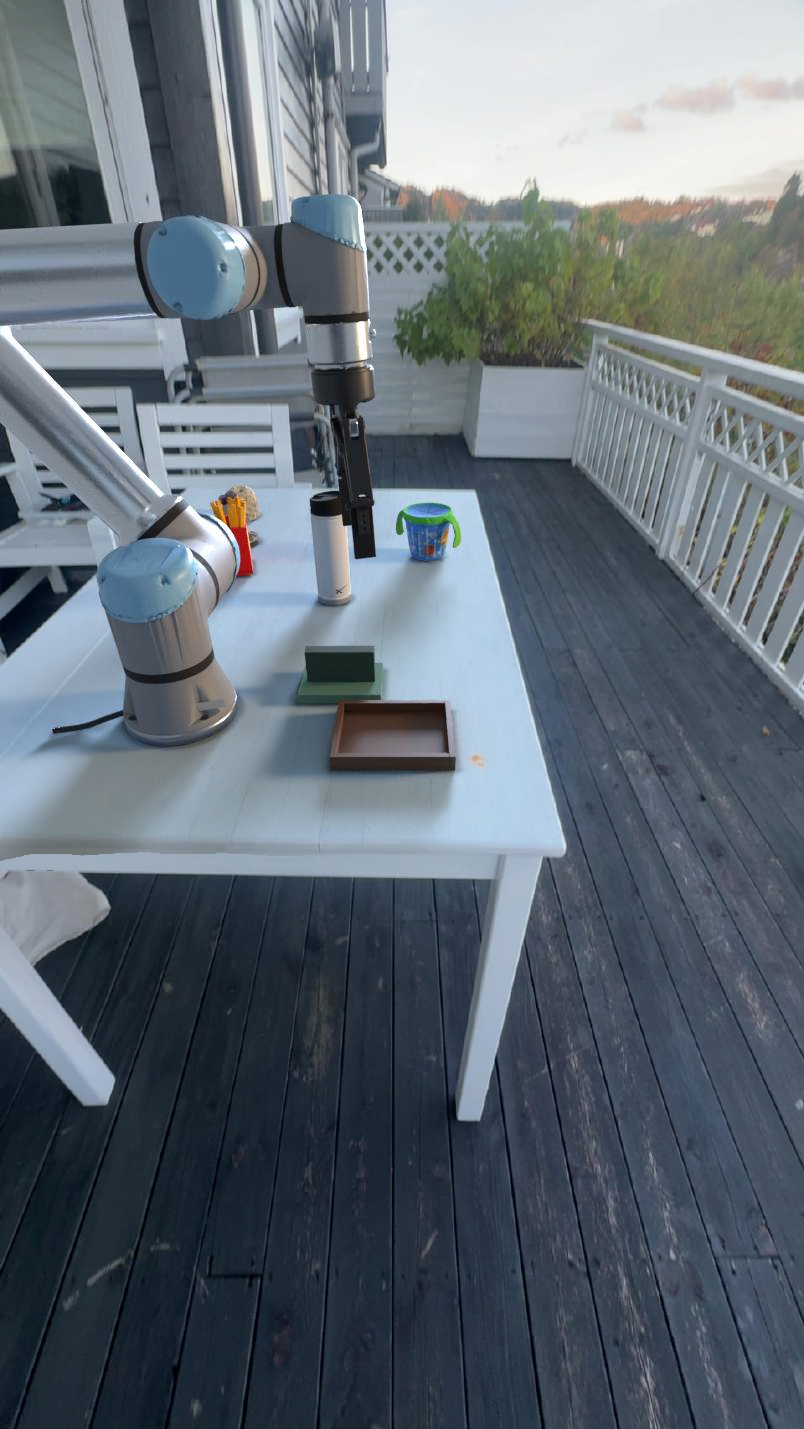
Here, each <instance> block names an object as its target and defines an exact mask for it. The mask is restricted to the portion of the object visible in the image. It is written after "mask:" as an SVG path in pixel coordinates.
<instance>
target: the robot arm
mask: <svg viewBox="0 0 804 1429" xmlns="http://www.w3.org/2000/svg"><path fill="white" fill-rule="evenodd" d="M290 211H291V214H290V217H289V219H290V220H289V221H288V222H287V221H286V222H283V223H278V224H273V225H271V224H269V225H248V226H246V225H245V226H238V225H233V224H228V223H223V222H218V221H214V220H213V219H209V218H208V217H205V216H203V215H197V214H196V215H191V214H184V215H183V214H182V215H177V216H174V217H171V218H169V219H166V220H154V221H148V222H142V221H132V222H130V221H129V222H114V223H113V222H112V223H98V224H97V223H95V224H80V225H79V224H78V225H77V224H76V225H63V226H44V227H25V228H8V229H7V228H6V229H0V424H1V425H2V426H3V427H4V428H6V430H7V431H8V432H9V433H10V434H12V435H13V436H14V438H16V439H17V440H18V441H19V443H21V444H22V445H23V446H24V447H25V448H26V449H27V450H28V451H29V452H30V453H31V454H32V455H33V456H34V457H35V458H37V460H39V461H40V463H41V464H43V466H44V467H46V468H47V469H48V470H49V471H50V472H51V473H52V474H53V475H54V476H55V477H56V478H57V479H58V480H59V481H60V482H62V484H64V486H65V487H66V488H68V489H69V490H70V491H71V493H73V494H74V495H75V496H76V497H77V498H78V499H79V500H80V501H81V502H82V503H83V504H84V505H85V506H86V507H87V508H88V509H89V510H90V511H92V513H93V514H95V516H97V517H98V518H99V519H100V521H101V522H103V523H104V524H105V525H106V526H107V527H108V528H109V529H110V530H111V531H112V532H113V533H114V534H115V535H116V536H117V538H118V542H119V543H118V544H119V546H118V547H116V548H114V549H112V550H111V551H109V553H107V554H106V555H105V556H104V557H103V558H102V560H101V561H100V562H99V564H98V566H97V569H96V576H95V577H96V583H97V587H98V596H99V600H100V603H101V606H102V607H103V609H104V613H105V616H106V620H107V622H108V625H109V628H110V632H111V635H112V637H113V640H114V644H115V647H116V650H117V653H118V656H119V660H120V663H121V666H122V669H123V671H124V672H123V673H124V676H125V681H124V694H123V704H122V705H123V707H122V709H121V710H118V711H115V712H112V713H109V714H106V715H103V716H101V717H98V718H96V719H93V720H90V721H88V722H87V721H86V722H82V723H78V724H71V725H64V726H56V727H54V728H55V729H51V732H52V734H53V735H55V734H62V733H64V734H65V733H71V732H72V733H73V732H77V731H84V730H88V729H90V728H95V727H97V726H99V725H101V724H105V723H107V722H109V721H113V720H115V719H119V718H121V717H123V721H124V724H125V727H126V730H127V732H128V734H130V736H131V737H133V738H134V739H136V740H137V741H140V742H142V743H145V744H148V745H153V746H161V747H162V746H163V747H166V746H167V747H168V746H169V747H171V746H179V745H180V746H181V745H186V744H190V743H195V742H197V741H201V740H203V739H206V738H208V737H211V736H213V735H215V734H217V733H218V732H220V731H222V730H223V729H224V728H225V727H227V726H228V725H229V724H230V723H231V722H232V721H233V719H234V718H235V717H236V714H237V712H238V709H239V702H238V701H239V700H238V697H237V692H236V689H235V688H234V686H233V684H232V682H231V681H230V679H229V677H228V676H227V675H226V673H225V671H224V670H223V668H222V667H221V665H220V663H219V662H218V660H217V658H216V656H215V652H214V647H213V646H214V645H213V641H212V637H211V631H210V627H209V617H210V616H211V615H212V613H213V612H214V610H215V609H216V607H217V606H218V605H219V603H220V601H221V600H222V599H223V597H224V595H226V594H227V593H228V592H229V591H230V590H231V588H232V587H233V585H234V584H235V581H236V579H237V577H236V575H237V573H238V570H239V566H240V551H239V547H238V544H237V541H236V539H235V537H234V535H233V534H232V532H231V531H230V529H229V528H228V527H227V526H226V525H225V524H224V523H223V522H222V521H220V520H219V519H217V518H216V517H215V515H214V516H213V515H211V514H209V513H204V512H203V513H202V512H199V511H196V510H195V509H194V508H193V506H191V505H190V504H189V503H188V502H187V501H186V499H185V498H183V497H182V496H181V495H172V494H166V493H164V492H163V491H162V490H161V489H160V488H159V487H158V486H157V485H156V484H155V483H154V482H153V481H152V480H151V479H150V478H149V477H148V476H147V475H146V474H145V473H144V472H143V471H142V470H141V469H140V467H138V465H136V464H135V463H134V462H133V460H131V458H130V457H129V456H128V455H127V454H126V453H125V452H124V450H122V449H121V448H120V447H119V446H118V445H117V443H116V442H114V441H113V439H111V438H110V437H109V436H108V434H106V432H105V431H104V430H103V429H101V427H100V426H99V425H98V424H97V423H96V422H95V421H94V420H93V419H92V418H91V416H89V415H88V414H87V413H86V411H84V410H83V409H82V408H81V407H80V405H79V404H78V403H77V402H76V401H74V399H73V398H72V397H71V396H70V395H69V394H68V393H67V392H66V391H65V390H64V389H63V388H62V387H61V386H60V385H59V384H58V383H57V382H56V381H55V380H54V379H53V378H52V376H51V375H50V374H49V373H48V372H47V371H46V370H45V369H44V368H43V367H42V366H41V365H40V364H39V363H38V362H37V361H36V360H35V359H34V358H33V356H31V355H30V354H29V352H28V351H27V350H26V349H25V348H23V346H22V345H21V344H20V343H19V342H18V341H17V340H16V339H15V338H14V336H13V332H12V327H15V326H17V327H18V326H34V325H35V326H37V325H38V326H39V325H57V324H78V323H79V324H80V323H97V322H98V323H99V322H118V321H120V322H121V321H138V320H139V321H140V320H161V319H171V320H172V319H173V320H174V319H175V320H176V319H193V320H196V321H207V320H217V319H221V318H223V317H225V316H227V315H234V314H238V313H243V312H248V311H249V312H250V311H259V310H270V309H271V310H272V309H282V308H283V309H284V308H288V309H290V308H291V309H292V308H297V307H302V311H303V315H304V316H303V319H304V331H305V332H304V333H305V341H306V349H307V350H306V351H307V357H308V362H309V363H310V364H311V365H314V367H313V368H312V370H311V372H310V376H311V385H312V386H311V387H312V394H313V401H314V403H316V404H318V405H321V406H327V407H328V406H329V407H330V411H331V417H329V424H330V425H329V426H330V430H331V433H332V443H333V448H334V461H335V462H334V468H335V470H336V475H337V477H338V478H337V483H338V491H339V494H340V504H341V513H342V522H343V526H347V527H348V526H349V527H350V526H351V532H352V533H351V534H352V535H351V536H352V544H353V554H354V555H353V556H354V560H362V559H371V558H372V559H373V558H376V557H377V550H376V538H375V526H374V514H373V512H374V511H373V507H374V506H375V502H376V501H375V500H376V499H375V498H374V493H373V492H374V491H373V486H372V478H371V470H370V462H369V455H368V445H367V440H366V422H365V421H366V420H365V418H364V416H362V415H361V414H360V413H359V410H358V405H359V404H360V403H361V404H362V403H363V404H365V403H369V402H371V401H373V400H374V399H375V398H376V384H375V383H376V382H375V368H374V367H373V366H372V364H369V363H368V362H369V361H370V360H372V358H373V345H372V342H371V340H373V339H376V337H377V331H376V329H374V328H371V321H370V319H371V313H370V297H369V296H370V294H369V277H368V259H367V258H368V257H367V247H366V241H365V232H364V222H363V214H362V212H363V211H362V207H361V205H360V203H359V202H358V200H357V199H356V198H355V197H353V196H352V195H349V194H339V193H336V194H335V193H331V194H330V193H329V194H328V193H327V194H326V193H325V194H314V195H308V196H300V197H296V198H295V199H293V200H292V202H291V205H290ZM58 727H60V728H58Z"/></svg>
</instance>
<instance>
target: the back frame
mask: <svg viewBox="0 0 804 1429" xmlns="http://www.w3.org/2000/svg"><path fill="white" fill-rule="evenodd" d="M451 703H452V702H451V700H450V699H381V700H345V701H344V700H339V703H337V710H336V716H335V721H334V726H333V734H332V740H331V746H330V751H329V766H330V770H331V771H455V770H456V761H457V756H456V744H455V736H454V735H455V733H454V723H453V715H452V714H453V713H452V704H451Z"/></svg>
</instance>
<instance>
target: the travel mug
mask: <svg viewBox="0 0 804 1429" xmlns="http://www.w3.org/2000/svg"><path fill="white" fill-rule="evenodd" d="M309 507H310V508H309V510H310V512H309V513H310V524H311V525H310V526H311V535H312V546H313V555H314V556H313V557H314V565H315V566H314V567H315V576H316V577H315V578H316V588H317V597H318V601H319V602H320V603H321V604H323V605H325V606H341V605H345V604H347V603H348V602H350V601H351V600H352V586H351V585H352V584H351V574H350V573H351V571H350V570H351V569H350V554H349V553H350V552H349V540H348V538H349V537H348V526H343V522H342V513H341V504H340V494H339V490H327V491H321V492H318V493H315V494H314V495H312V497H310V498H309Z"/></svg>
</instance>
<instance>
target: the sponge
mask: <svg viewBox="0 0 804 1429" xmlns="http://www.w3.org/2000/svg"><path fill="white" fill-rule="evenodd" d="M228 491H235V492H236V493H237V494H238V497H240V499H244V502H246V514H245V515H246V518H247V521H248V522H251V521H254V520H257V518H259V517H260V510H259V501H258V499H257V494H256V493H255V491H254V490H253V489H252V488H251V487H249V486H247V485H238V486H233V487H231V488H229V489H228V490H226V492H228ZM221 505H222V504H221ZM222 509H223V512H224V515H228V513H227V506H226V505H222Z"/></svg>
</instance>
